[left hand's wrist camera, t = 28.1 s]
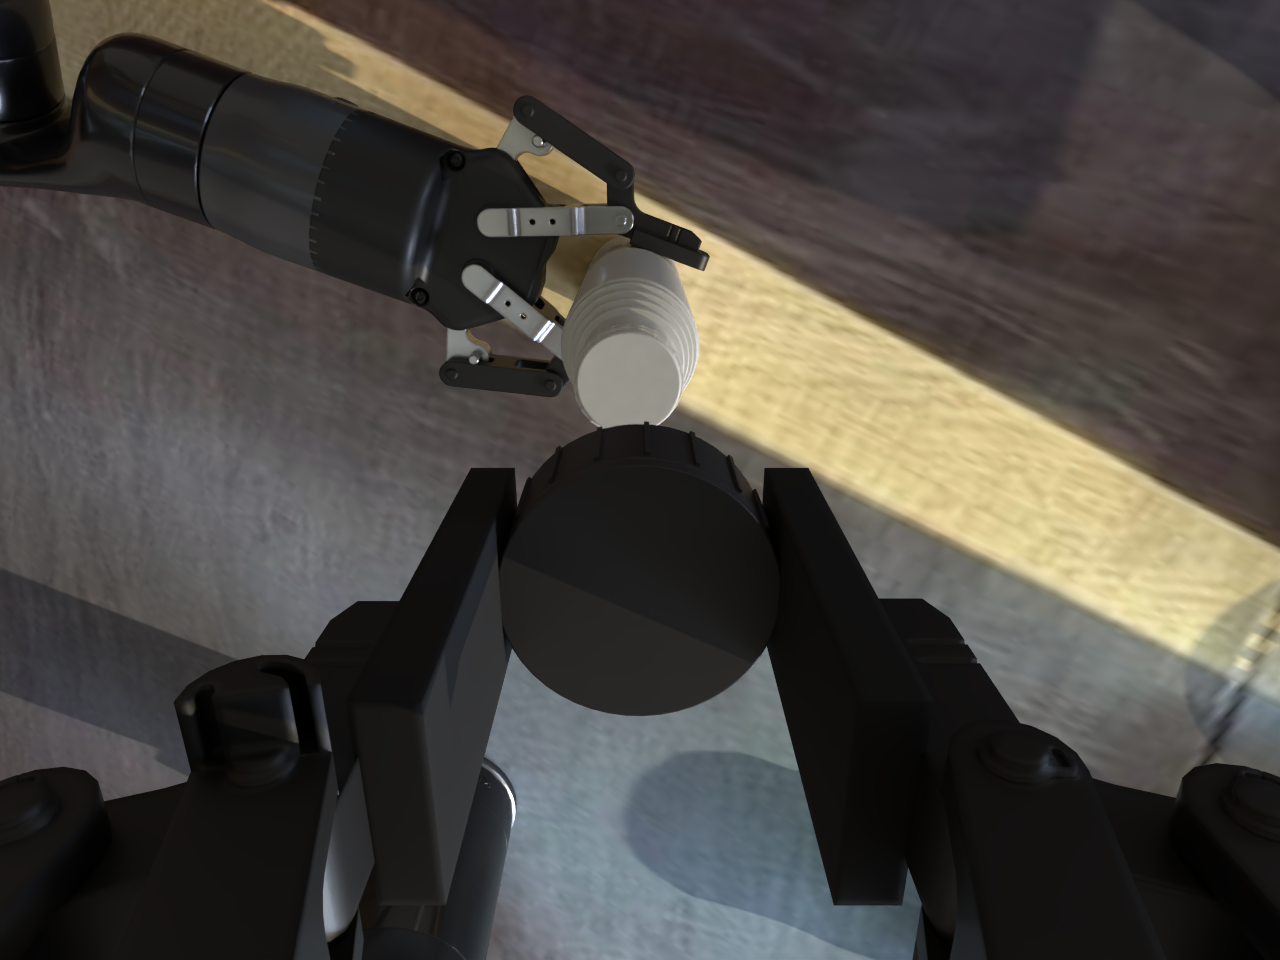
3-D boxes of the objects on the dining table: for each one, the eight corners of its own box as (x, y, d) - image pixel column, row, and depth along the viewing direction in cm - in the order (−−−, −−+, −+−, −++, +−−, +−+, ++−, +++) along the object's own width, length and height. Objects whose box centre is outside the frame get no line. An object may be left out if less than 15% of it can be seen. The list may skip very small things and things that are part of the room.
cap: (560, 675, 16) (549, 747, 14) (474, 460, 14) (449, 508, 12) (789, 615, 15) (812, 681, 13) (729, 386, 14) (744, 424, 12)
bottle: (623, 214, 44) (610, 266, 23) (696, 271, 45) (744, 367, 25) (569, 289, 45) (513, 400, 25) (642, 343, 46) (645, 490, 26)
